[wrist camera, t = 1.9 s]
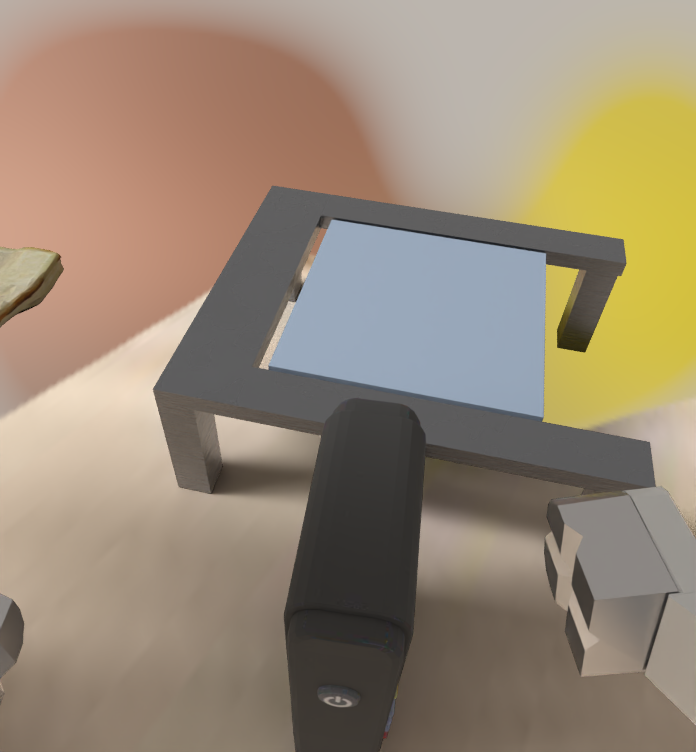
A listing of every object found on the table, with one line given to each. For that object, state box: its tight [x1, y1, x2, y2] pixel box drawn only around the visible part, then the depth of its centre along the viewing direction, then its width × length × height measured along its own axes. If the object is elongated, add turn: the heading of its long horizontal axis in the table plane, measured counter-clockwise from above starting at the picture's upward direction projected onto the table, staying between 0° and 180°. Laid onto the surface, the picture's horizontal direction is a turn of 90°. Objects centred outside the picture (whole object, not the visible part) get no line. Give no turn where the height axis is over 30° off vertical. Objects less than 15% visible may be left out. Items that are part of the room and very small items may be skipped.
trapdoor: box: [269, 220, 546, 422], centre depth 38 cm, size 14×14×1 cm
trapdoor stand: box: [153, 186, 656, 495], centre depth 40 cm, size 24×20×8 cm
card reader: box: [284, 398, 426, 752], centre depth 26 cm, size 9×4×15 cm, turn 172°
